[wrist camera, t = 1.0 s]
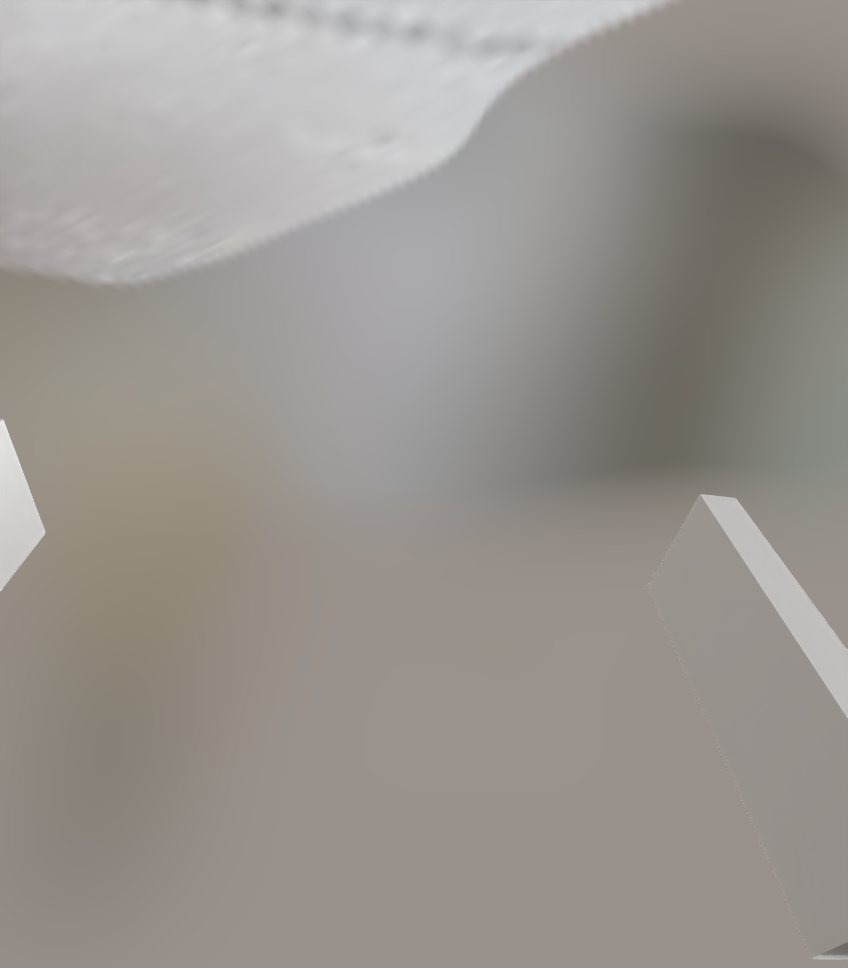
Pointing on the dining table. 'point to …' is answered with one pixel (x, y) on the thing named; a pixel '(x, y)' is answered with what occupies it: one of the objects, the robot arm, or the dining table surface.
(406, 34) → the dining table surface
